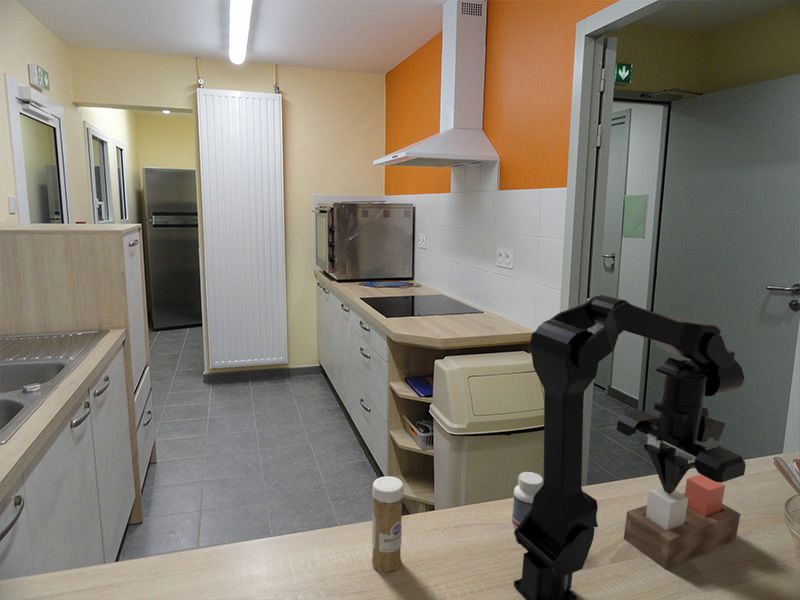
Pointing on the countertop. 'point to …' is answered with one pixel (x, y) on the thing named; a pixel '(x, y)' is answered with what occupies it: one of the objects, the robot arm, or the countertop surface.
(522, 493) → the pill bottle
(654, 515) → the grey plug
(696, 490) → the red plug
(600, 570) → the countertop surface
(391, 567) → the sprinkles bottle
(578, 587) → the countertop surface
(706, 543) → the socket block
